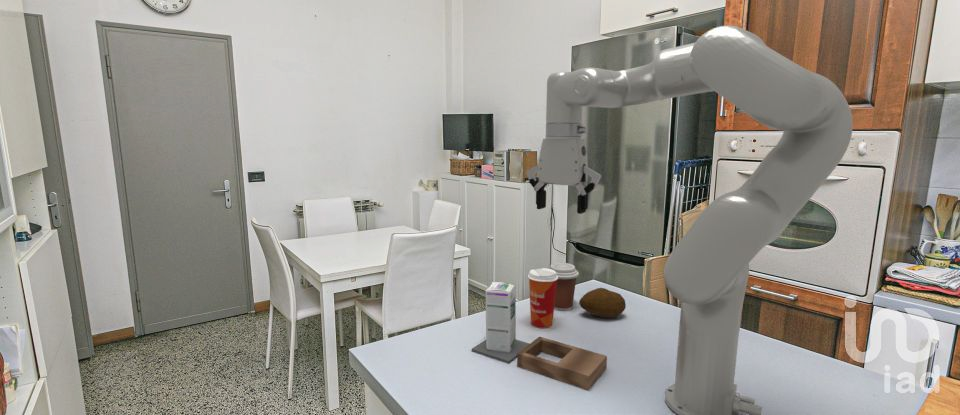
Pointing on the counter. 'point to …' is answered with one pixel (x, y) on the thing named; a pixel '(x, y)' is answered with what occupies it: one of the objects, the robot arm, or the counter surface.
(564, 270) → the coffee cup
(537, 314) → the paper cup
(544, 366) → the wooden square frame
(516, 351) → the rubber mat
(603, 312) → the potato
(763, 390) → the counter surface
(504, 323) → the syrup box
